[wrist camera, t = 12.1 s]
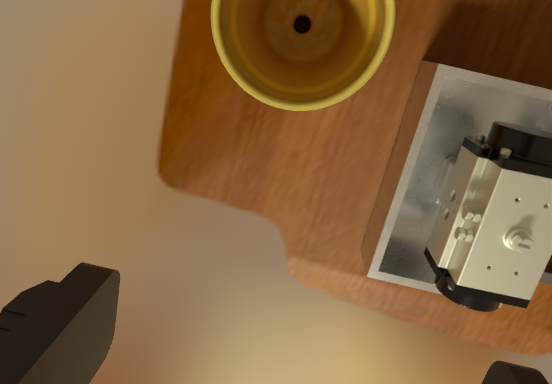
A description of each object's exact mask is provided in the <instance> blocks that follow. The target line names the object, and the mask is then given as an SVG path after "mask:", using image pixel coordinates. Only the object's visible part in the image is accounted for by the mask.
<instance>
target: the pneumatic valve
mask: <svg viewBox="0 0 552 384" xmlns="http://www.w3.org/2000/svg"><path fill="white" fill-rule="evenodd" d="M485 138H486V136H485V135H482V134H477V137H475V136H470V135H468V137H464V140H463V143H462V146H461V149H460V152H459V154H458V157H457V158H455V157H451V156H449V157H448V159H445V161H444V164H443V167H442V170H441V173H440V176H439V178H438V181H437V184H436V187H435V190H434V193H433V196H434V197H435V198H434V201H435V203H441V206H440V208H439V211H438V214H437V217H436V220H435V223H434V225H433V228H432V231H431V234H430V237H429V240H428V242H427V245H426V248H425V251H424V255H425V257H426V259H427V261H428V262H429V264H430V266H431V268H432V270H433V272H434V274H435V275H436V277H435V280H434V283H435V286H436V288H437V289H438V290H439V291H440V292H441V293H442V294H443V295H444V296H445V297H447V298H448V299H450V300H451V301H453V302H455V303H457V304H459V305H461V306H463V307H466V308H469V309H472V310H476V311H482V312H490V311H494V310H496V309H497V308H498V307H499V305H500V303H503V304H508V305H513V306H518V307H522V308H527V306H528V304H529V302H530V300H531V298H532V296H533V293H534V291H535V289H536V287H537V285H538V283H539V281H540V279H541V276H542V274H543V272H544V270H545V268H546V266H547V264H548V261H549V259H550V257H551V255H552V133H550V132H546V131H542V130H539V129H535V128H531V127H527V126H522V125H518V124H513V123H507V122H501V121H494V122H493V123H492V126H491V129H490V132H489V134H488V137H487V139H485ZM456 159H457V160H456Z"/></svg>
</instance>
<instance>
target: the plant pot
mask: <svg viewBox="0 0 552 384" xmlns="http://www.w3.org/2000/svg"><path fill="white" fill-rule="evenodd" d="M395 15H396V6H395V0H212V3H211V26H212V33H213V38H214V42H215V46H216V49H217V52H218V54H219V56H220V59H221V61H222V63H223V64H224V66H225V68H226V69H227V71H228V73H229V74H230V75H231V76H232V78H233V79H234V80H235V81H236V82H237V83H238V85H239V86H240V87H242V88H243V89H244V90H245V91H246V92H247V93H249V94H250V95H251V96H253V97H255V98H256V99H258V100H260V101H262V102H264V103H266V104H268V105H271V106H274V107H277V108H281V109H286V110H293V111H307V110H316V109H321V108H324V107H328V106H331V105H333V104H336V103H338V102H340V101H342V100H344V99H346V98H347V97H349V96H351V95H352V94H353V93H355V92H356V91H357V90H359V89H360V88H361V87H362V86H363V85H364V84H365V83H366V82H367V81H368V80H369V79H370V78H371V77H372V75H373V74H374V73H375V72H376V70H377V69H378V67H379V66H380V64H381V62H382V60H383V59H384V57H385V55H386V52H387V50H388V48H389V45H390V42H391V39H392V35H393V31H394V25H395ZM300 16H305V17H307V18H309V20H310V22H311V26H310V29H309V30H308V31H307V32H305V33H298V32H297V31H296V30H295V28H294V22H295V20H296V19H297V18H298V17H300Z"/></svg>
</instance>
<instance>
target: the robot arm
mask: <svg viewBox="0 0 552 384" xmlns="http://www.w3.org/2000/svg"><path fill="white" fill-rule="evenodd" d="M119 284H120V273H119V271H117V270H113V269H109V268H104V267H100V266H96V265H91V264H88V263H80V264H79V265H77V266H76V267H75V268H74V269H73V270H72V271H71V272H70V273H69V274H68V275H67V276H66V277H65V278H64V279H63V280H62V281H61V282H60V283H58V282H54V281H49V280H47V281H45V282H43V283H41V284H38V285H36V286H34V287H32V288H30V289H27V290H25V291H23V292H21V293H20V294H19V295H18V296H17V297H15V298H14V299H13V300H12V301H11V302H10V303H8V304H7V305H6V306H5V307H4V308H3V309H2V311H1V313H0V384H89V383H90V381H91V380H92V378H93V377H94V375H95V374H96V372H97V371H98V369H99V368H100V366H101V364H102V363H103V361H104V360H105V358H106V356H107V353H108V351H109V349H110V346H111V343H112V340H113V336H114V330H115V322H116V312H117V303H118V293H119ZM482 384H549V383H548V382H547V381H546V379H545V378H544V376H543V375H542V374H541V372H539V371H538V370H536V369H533V368H529V367H524V366H520V365H516V364H512V363H507V362H503V361H496V362H494V363H493V364H492V365H491V366H490V368H489V370H488V372H487V374H486V376H485V378H484V380H483V382H482Z"/></svg>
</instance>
